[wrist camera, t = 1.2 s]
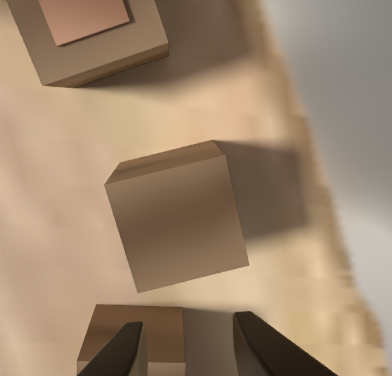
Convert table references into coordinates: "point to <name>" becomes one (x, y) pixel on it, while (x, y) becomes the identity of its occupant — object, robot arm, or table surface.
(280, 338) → the robot arm
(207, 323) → the table surface
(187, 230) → the plain block
